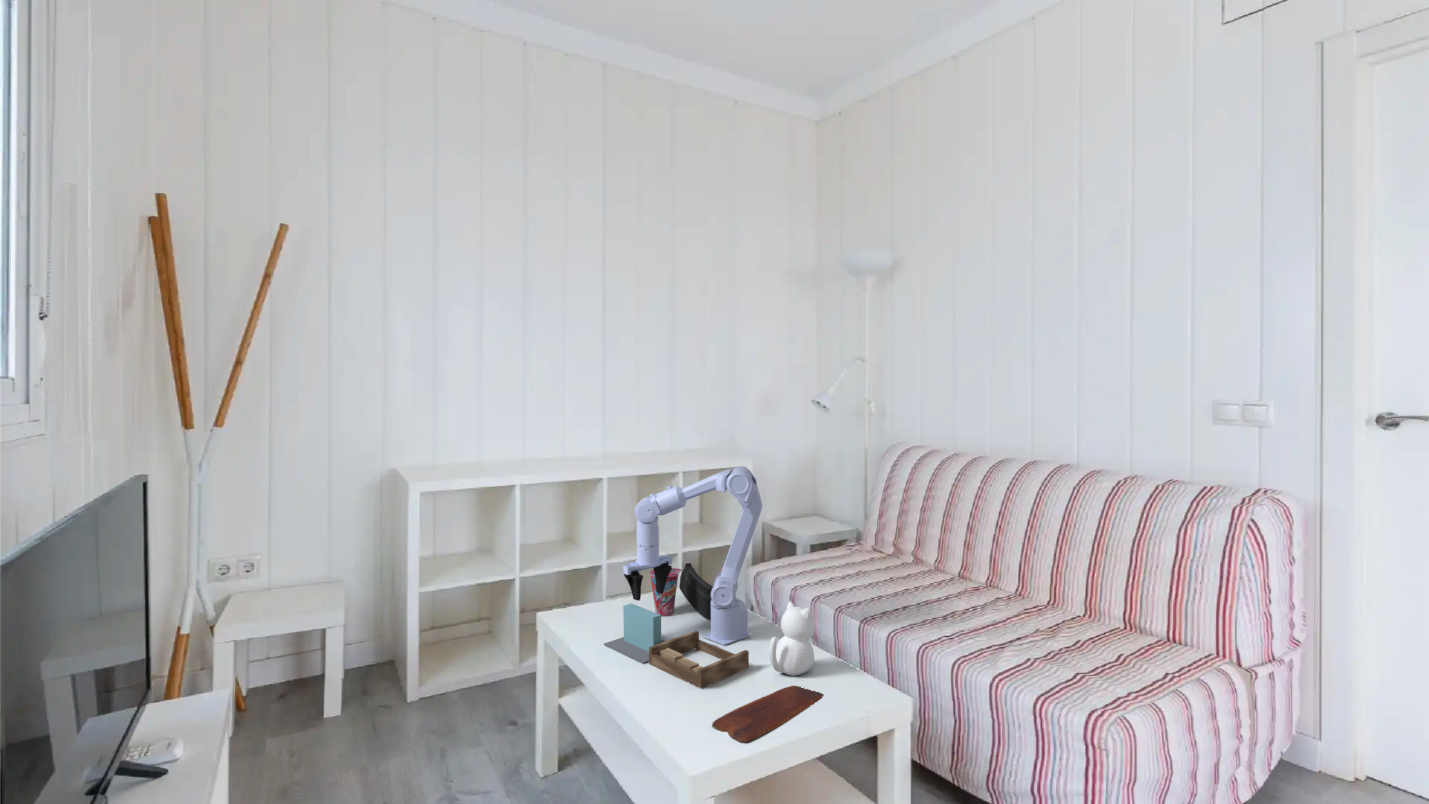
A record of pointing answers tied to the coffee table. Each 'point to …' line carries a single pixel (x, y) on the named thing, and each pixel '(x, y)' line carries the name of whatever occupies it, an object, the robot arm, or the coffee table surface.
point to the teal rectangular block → (641, 626)
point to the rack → (705, 674)
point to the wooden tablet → (766, 713)
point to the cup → (665, 593)
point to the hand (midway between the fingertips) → (648, 596)
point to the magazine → (696, 591)
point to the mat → (629, 650)
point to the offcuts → (680, 659)
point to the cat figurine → (794, 642)
